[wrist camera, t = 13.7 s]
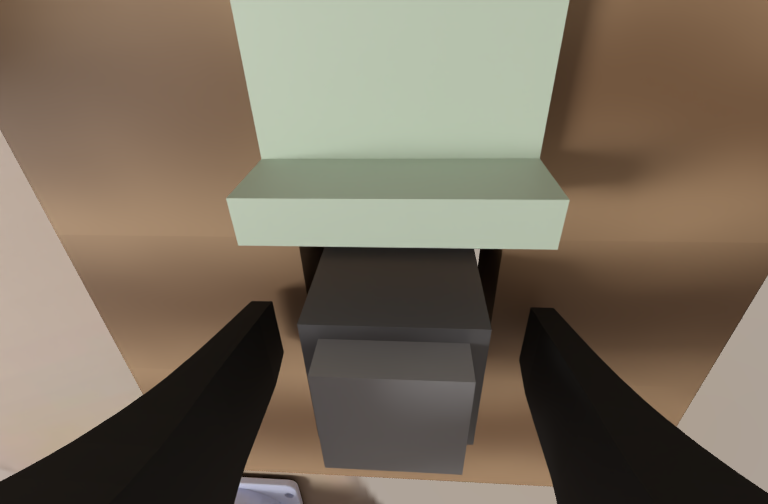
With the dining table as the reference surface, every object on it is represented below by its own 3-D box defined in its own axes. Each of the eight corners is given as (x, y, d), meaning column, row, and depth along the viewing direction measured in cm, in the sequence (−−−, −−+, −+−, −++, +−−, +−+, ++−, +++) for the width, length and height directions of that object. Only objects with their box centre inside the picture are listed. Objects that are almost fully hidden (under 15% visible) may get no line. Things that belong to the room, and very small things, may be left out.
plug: (454, 296, 15) (478, 484, 10) (350, 293, 16) (310, 475, 10) (462, 200, 13) (500, 368, 7) (341, 199, 13) (284, 361, 8)
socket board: (608, 423, 19) (637, 491, 16) (211, 407, 20) (182, 466, 18) (829, -69, 9) (988, -91, 7) (29, -39, 10) (-95, -47, 8)
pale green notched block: (525, 190, 10) (557, 249, 7) (276, 189, 10) (237, 245, 8) (587, -164, 6) (677, -243, 4) (215, -143, 7) (120, -207, 5)
